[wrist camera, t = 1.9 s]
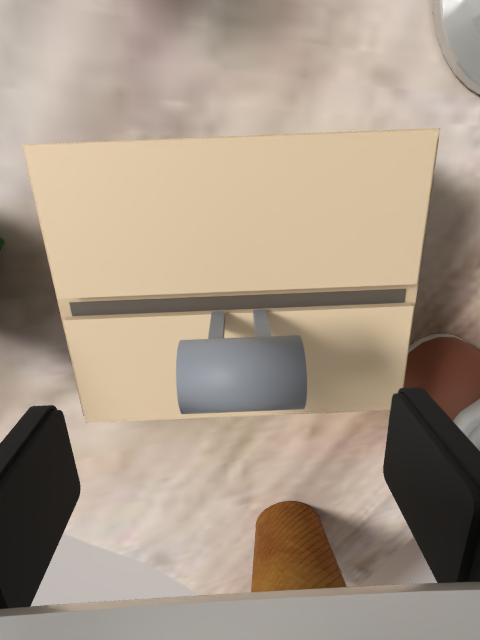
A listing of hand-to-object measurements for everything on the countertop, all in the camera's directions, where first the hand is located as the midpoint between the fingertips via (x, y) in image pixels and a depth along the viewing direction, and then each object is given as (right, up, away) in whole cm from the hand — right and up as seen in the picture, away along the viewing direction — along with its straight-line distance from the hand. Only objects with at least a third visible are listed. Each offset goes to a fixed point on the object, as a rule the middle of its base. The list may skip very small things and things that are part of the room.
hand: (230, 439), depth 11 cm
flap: (0, +2, +9) cm, 9 cm away
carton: (0, +8, +17) cm, 18 cm away
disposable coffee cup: (+5, -17, +27) cm, 32 cm away
